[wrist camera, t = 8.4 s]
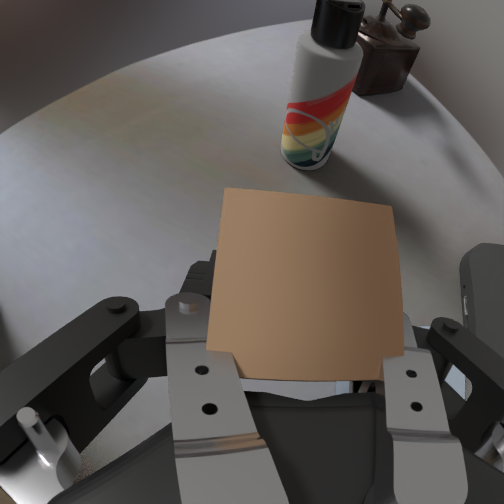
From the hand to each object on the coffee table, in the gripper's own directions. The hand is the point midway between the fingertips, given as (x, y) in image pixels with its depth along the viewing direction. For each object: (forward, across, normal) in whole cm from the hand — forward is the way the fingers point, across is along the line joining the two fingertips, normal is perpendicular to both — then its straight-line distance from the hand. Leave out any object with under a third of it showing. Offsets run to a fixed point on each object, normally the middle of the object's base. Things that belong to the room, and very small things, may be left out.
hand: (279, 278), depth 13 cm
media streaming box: (+14, -30, +10) cm, 34 cm away
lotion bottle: (+26, -4, -3) cm, 27 cm away
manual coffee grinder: (+39, -16, -15) cm, 45 cm away
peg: (+2, 0, +4) cm, 5 cm away
